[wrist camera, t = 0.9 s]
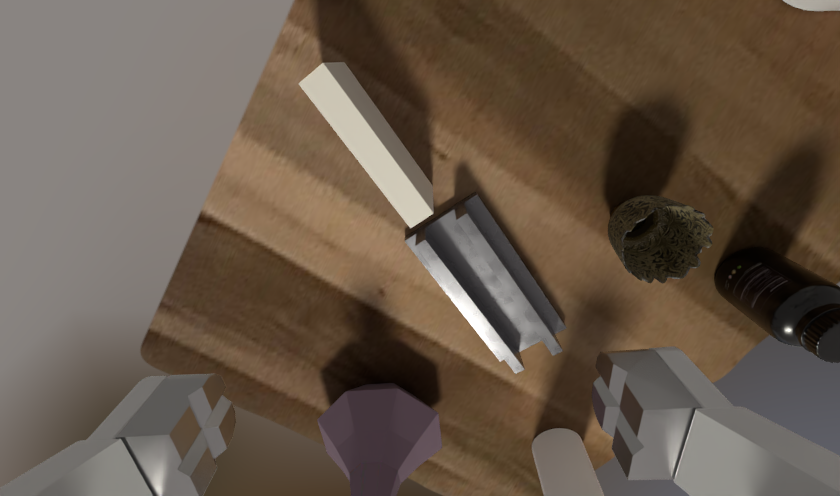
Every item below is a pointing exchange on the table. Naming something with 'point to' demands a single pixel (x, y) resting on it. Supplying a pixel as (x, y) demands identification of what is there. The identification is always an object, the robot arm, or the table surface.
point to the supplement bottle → (784, 299)
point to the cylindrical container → (564, 464)
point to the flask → (379, 436)
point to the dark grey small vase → (658, 237)
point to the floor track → (487, 280)
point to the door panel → (370, 139)
